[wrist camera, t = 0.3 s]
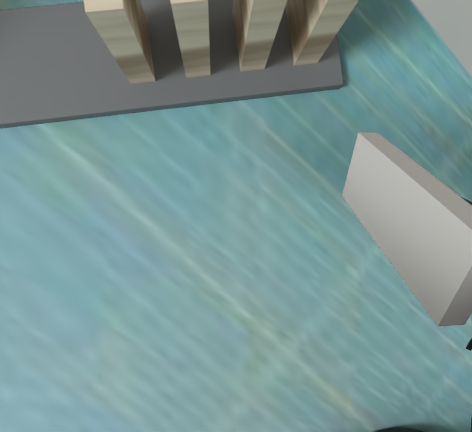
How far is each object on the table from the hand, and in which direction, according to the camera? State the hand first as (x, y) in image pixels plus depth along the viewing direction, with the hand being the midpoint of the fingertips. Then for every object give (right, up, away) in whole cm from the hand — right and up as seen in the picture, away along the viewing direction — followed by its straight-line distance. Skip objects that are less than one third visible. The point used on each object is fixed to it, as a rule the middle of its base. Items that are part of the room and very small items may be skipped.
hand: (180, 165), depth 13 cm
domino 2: (-1, +12, +16) cm, 20 cm away
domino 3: (+3, +13, +16) cm, 21 cm away
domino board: (-5, +12, +17) cm, 21 cm away
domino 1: (-6, +11, +16) cm, 20 cm away
